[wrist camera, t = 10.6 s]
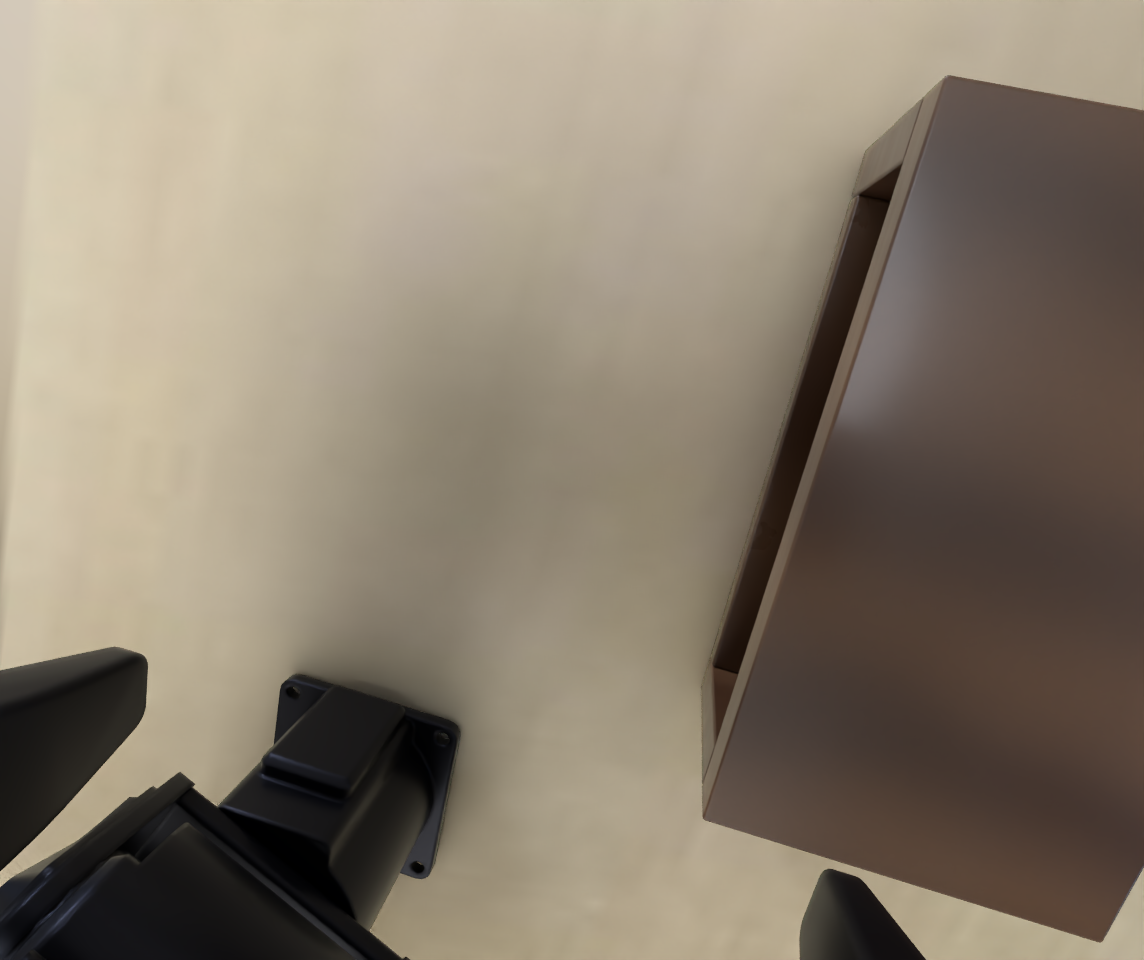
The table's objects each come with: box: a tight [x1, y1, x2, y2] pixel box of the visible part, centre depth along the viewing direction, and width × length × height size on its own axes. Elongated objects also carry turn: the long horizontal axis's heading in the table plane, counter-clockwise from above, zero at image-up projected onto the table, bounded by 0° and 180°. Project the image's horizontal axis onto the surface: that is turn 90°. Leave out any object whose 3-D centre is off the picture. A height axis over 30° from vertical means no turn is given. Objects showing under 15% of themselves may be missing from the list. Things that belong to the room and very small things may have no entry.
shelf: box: [701, 75, 1144, 942], centre depth 17 cm, size 16×9×6 cm, turn 167°
